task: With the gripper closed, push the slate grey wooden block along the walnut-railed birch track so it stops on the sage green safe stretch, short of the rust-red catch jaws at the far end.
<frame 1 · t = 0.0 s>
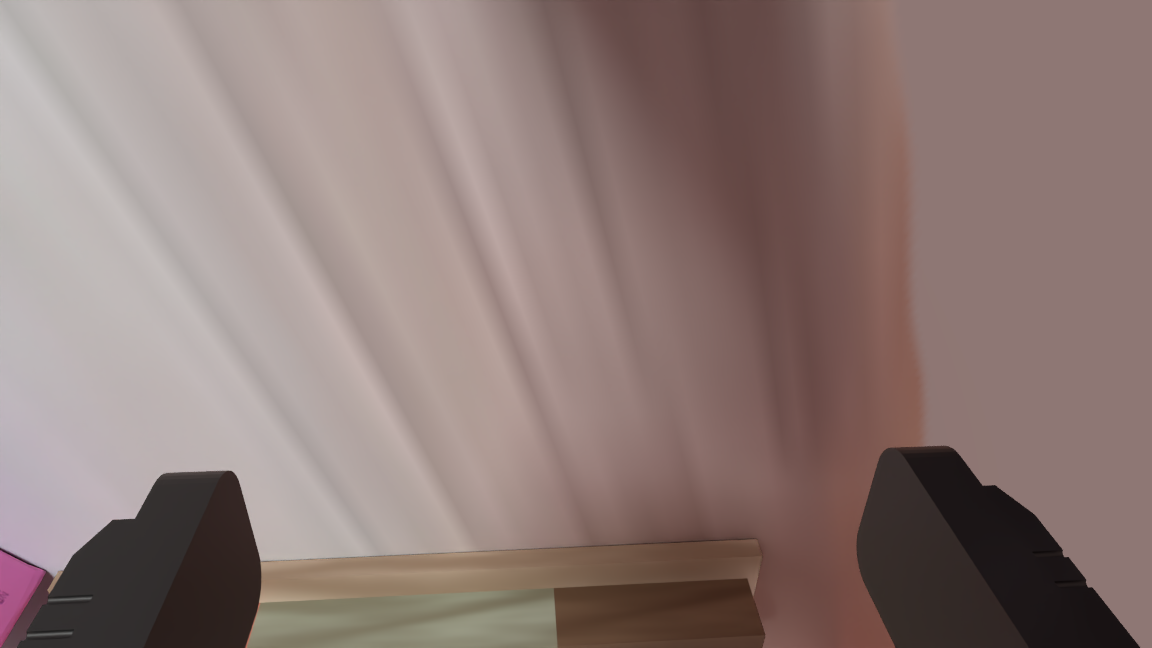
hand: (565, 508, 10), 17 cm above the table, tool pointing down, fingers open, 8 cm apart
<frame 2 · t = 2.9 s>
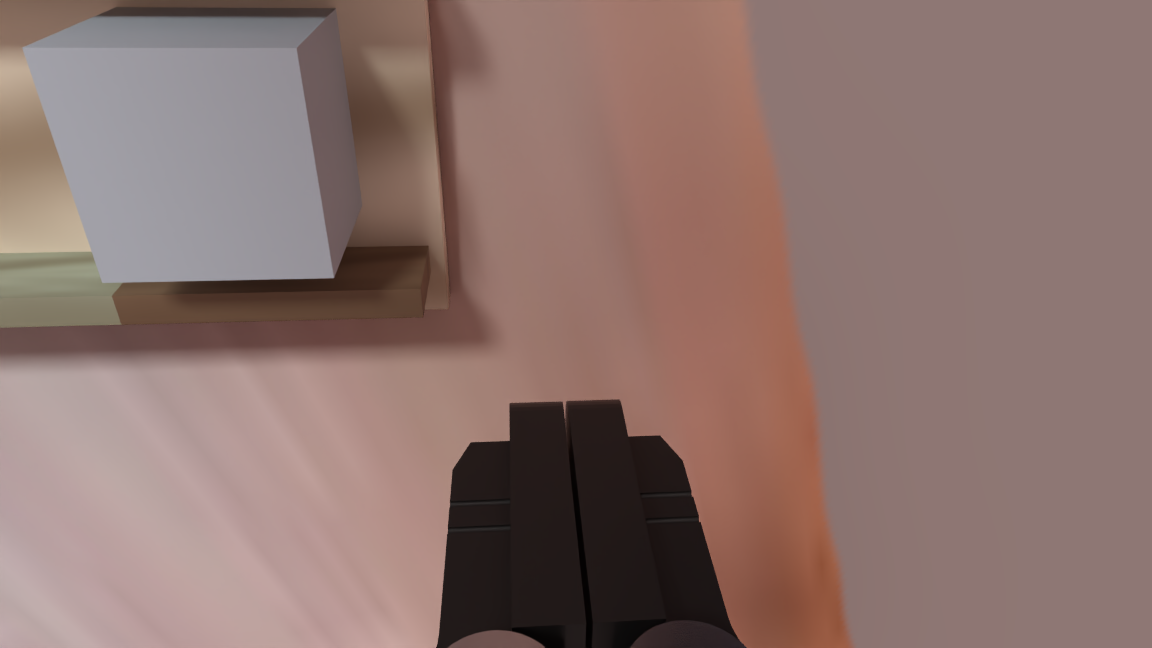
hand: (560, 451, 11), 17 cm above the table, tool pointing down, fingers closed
slate block: (248, 113, 24), point 1 cm above the table, touching track
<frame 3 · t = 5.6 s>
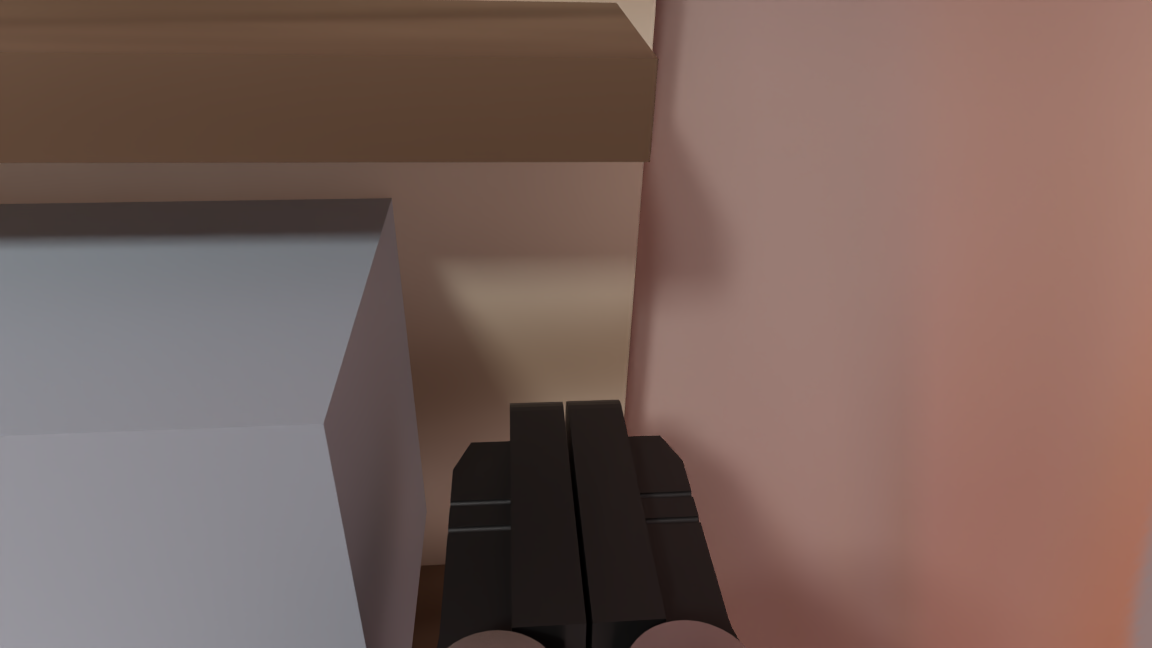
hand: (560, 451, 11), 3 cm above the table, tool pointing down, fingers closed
slate block: (217, 380, 12), point 1 cm above the table, touching gripper, track
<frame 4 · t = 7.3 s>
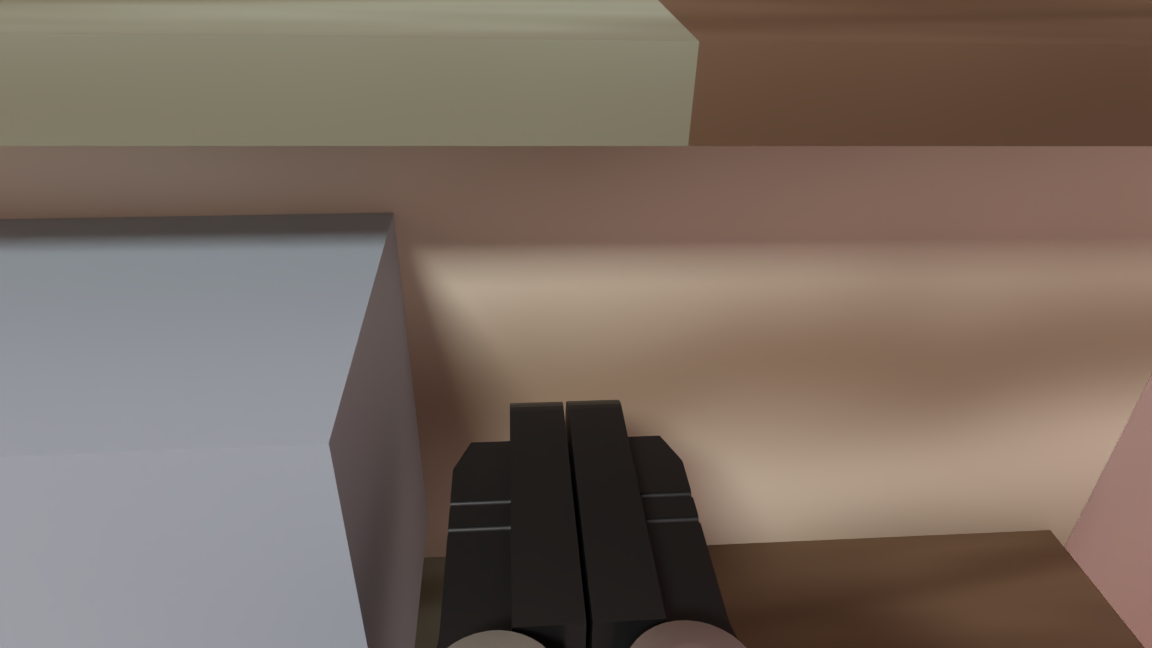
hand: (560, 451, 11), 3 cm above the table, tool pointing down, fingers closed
track: (255, 329, 13), on the table
slate block: (220, 391, 12), point 1 cm above the table, touching gripper, track
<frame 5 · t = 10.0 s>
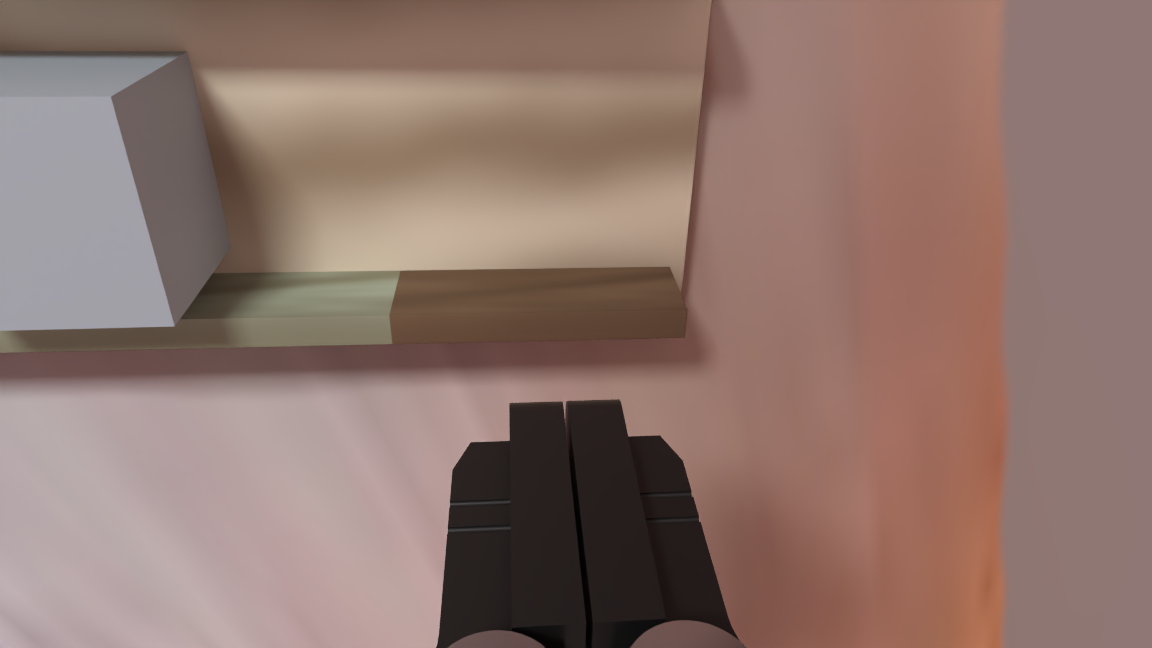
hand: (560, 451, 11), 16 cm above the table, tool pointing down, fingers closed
track: (191, 126, 24), on the table
slate block: (106, 156, 23), point 1 cm above the table, touching track
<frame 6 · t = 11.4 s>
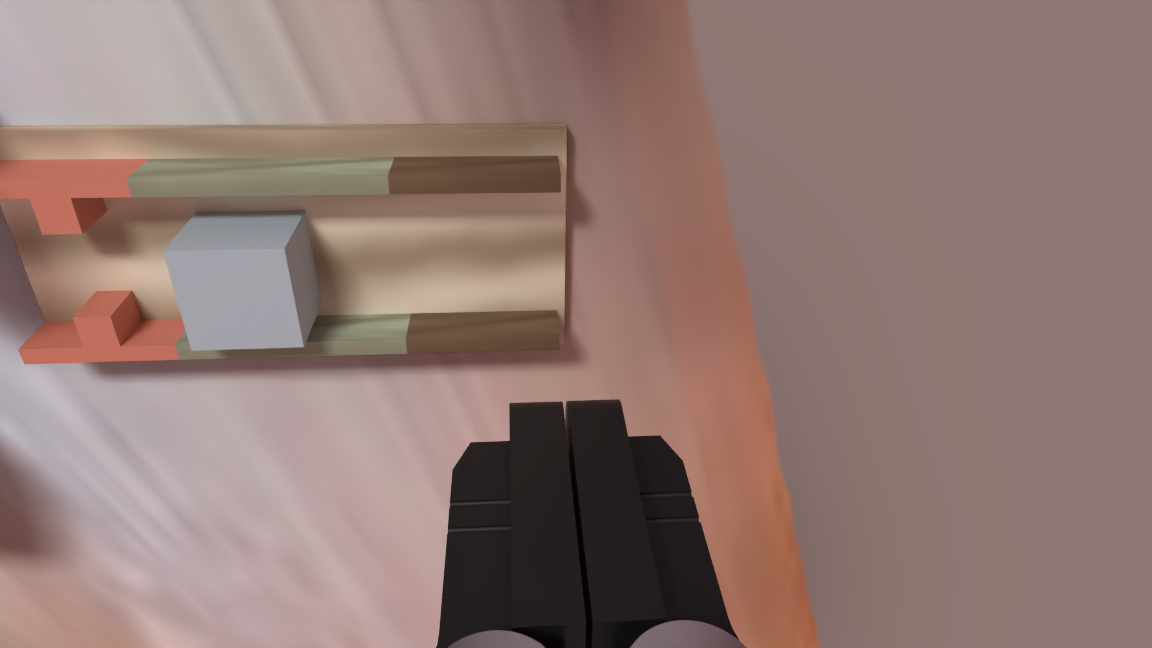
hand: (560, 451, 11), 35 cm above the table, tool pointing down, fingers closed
track: (303, 241, 46), on the table
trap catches: (85, 264, 43), point 2 cm above the table
slate block: (261, 259, 46), point 1 cm above the table, touching track
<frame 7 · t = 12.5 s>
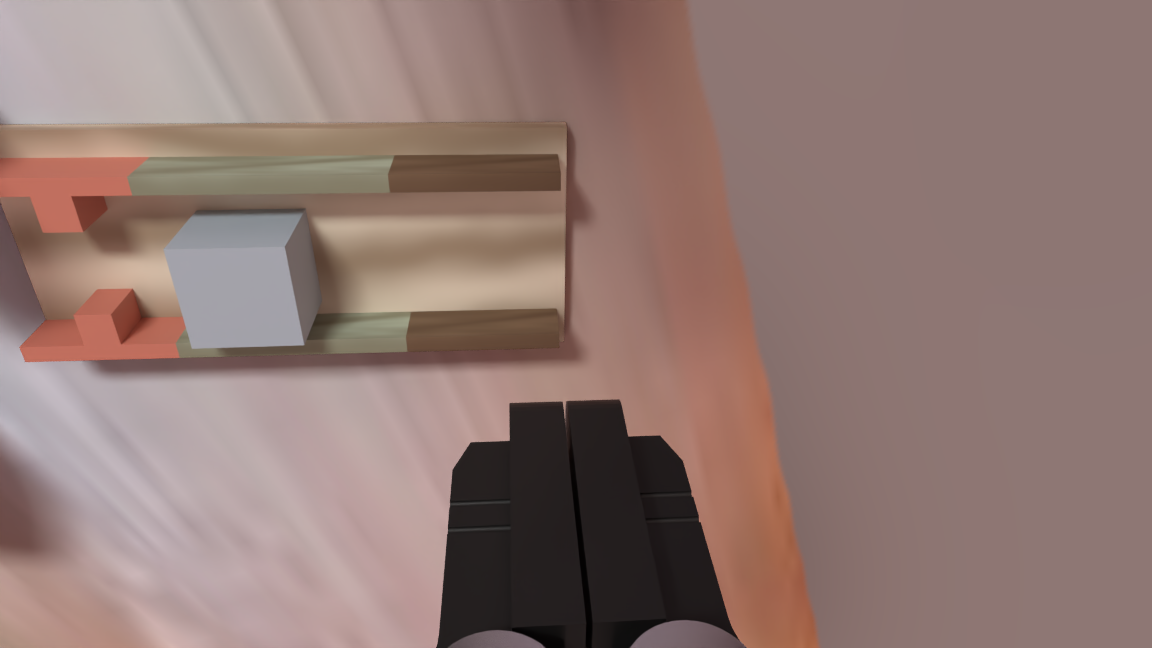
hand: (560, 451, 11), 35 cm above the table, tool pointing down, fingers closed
track: (303, 239, 46), on the table
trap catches: (85, 262, 43), point 2 cm above the table
slate block: (261, 257, 46), point 1 cm above the table, touching track
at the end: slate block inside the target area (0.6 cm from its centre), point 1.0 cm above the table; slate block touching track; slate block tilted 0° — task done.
